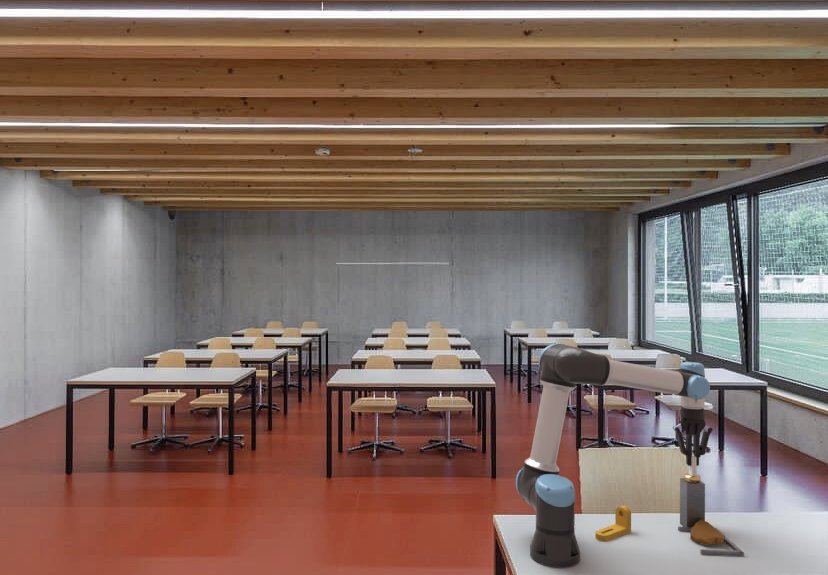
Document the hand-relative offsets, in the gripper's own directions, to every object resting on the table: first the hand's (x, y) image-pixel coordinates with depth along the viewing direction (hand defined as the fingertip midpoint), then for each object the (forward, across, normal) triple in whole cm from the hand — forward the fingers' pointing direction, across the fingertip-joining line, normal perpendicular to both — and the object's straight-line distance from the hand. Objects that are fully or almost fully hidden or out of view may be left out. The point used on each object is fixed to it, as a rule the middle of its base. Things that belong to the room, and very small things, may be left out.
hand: (692, 474), depth 203 cm
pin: (+9, 0, 0) cm, 9 cm away
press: (+18, 0, -10) cm, 20 cm away
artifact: (+19, 0, -11) cm, 22 cm away
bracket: (+18, -30, -9) cm, 36 cm away
